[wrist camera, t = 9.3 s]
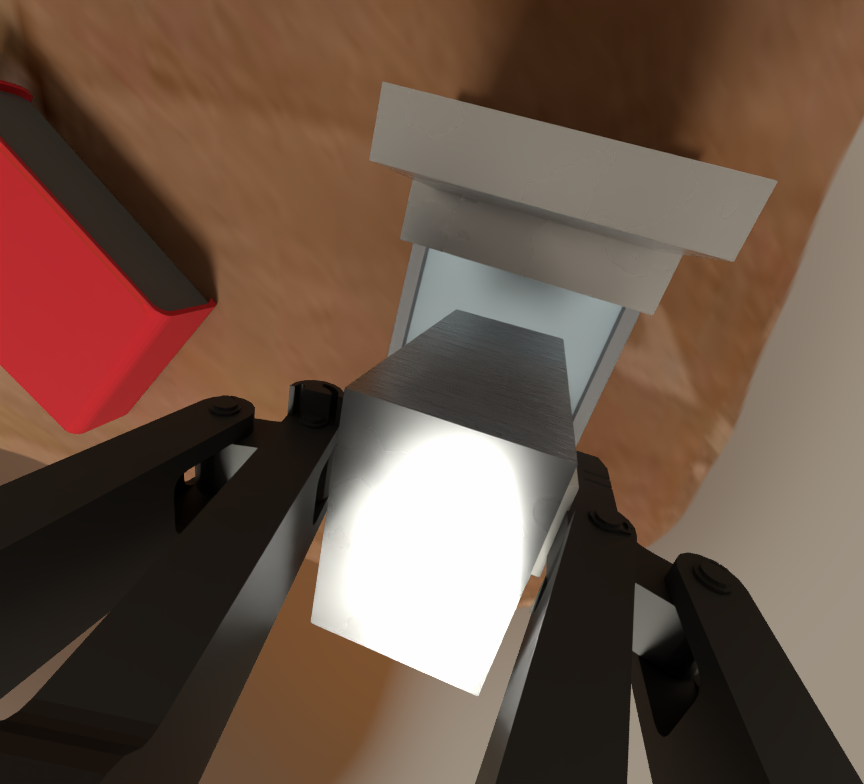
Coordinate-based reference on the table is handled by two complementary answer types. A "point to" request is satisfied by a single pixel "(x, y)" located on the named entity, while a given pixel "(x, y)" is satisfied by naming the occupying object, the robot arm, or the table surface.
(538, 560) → the robot arm
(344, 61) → the table surface
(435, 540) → the steel block
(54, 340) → the red device housing
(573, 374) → the vise base
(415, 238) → the sliding jaw
